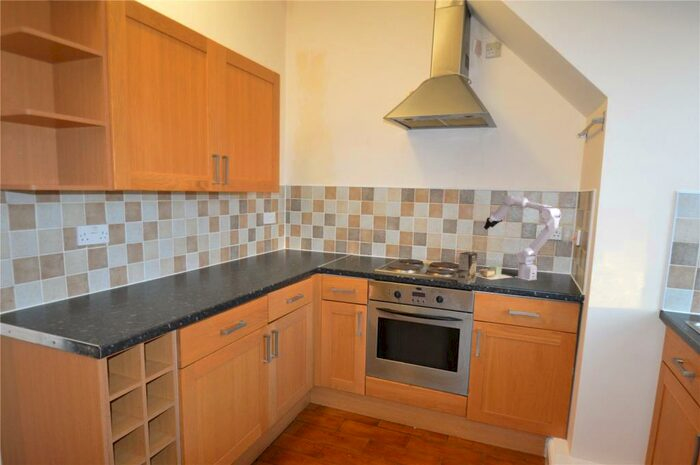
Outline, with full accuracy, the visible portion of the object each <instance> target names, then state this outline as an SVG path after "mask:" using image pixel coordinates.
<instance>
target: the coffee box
mask: <svg viewBox="0 0 700 465" xmlns="http://www.w3.org/2000/svg"><path fill="white" fill-rule="evenodd" d="M477 260H478V253H477V252H471V251H465V252H460V253H459V260H458V274H457V283H458V284H464V285H467V286H468V285H471V284H473V283H474V282H476V277H477V276H476V273H477Z"/></svg>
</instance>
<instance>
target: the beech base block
mask: <svg viewBox="0 0 700 465" xmlns="http://www.w3.org/2000/svg"><path fill="white" fill-rule="evenodd" d="M478 273H479V276H482V277H485V278H484V279H486V278H491V277H494V274H495V271H492V270H490V269H488V268H484V269H482V268H481V269H479V270H478ZM482 277H481V278H482Z"/></svg>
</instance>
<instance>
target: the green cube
mask: <svg viewBox="0 0 700 465" xmlns="http://www.w3.org/2000/svg"><path fill="white" fill-rule="evenodd" d="M489 270H492V271H495V274H494V275H499V274H502V270H503V268H502V266H500V265H490V266H489Z"/></svg>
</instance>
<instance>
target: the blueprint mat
mask: <svg viewBox="0 0 700 465" xmlns="http://www.w3.org/2000/svg"><path fill="white" fill-rule="evenodd" d="M476 277H479V278H482V279H486V280H490V281H492V280H500V279H508V278H512V276H510V275H507V274H502V273H501V274H499V275H494V277H491V278H485V277H482V276H479V272H476Z"/></svg>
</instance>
